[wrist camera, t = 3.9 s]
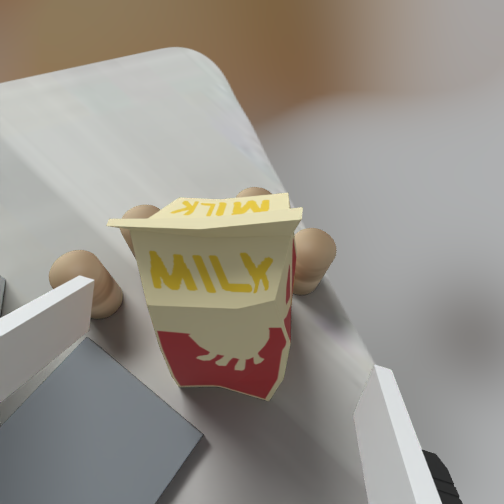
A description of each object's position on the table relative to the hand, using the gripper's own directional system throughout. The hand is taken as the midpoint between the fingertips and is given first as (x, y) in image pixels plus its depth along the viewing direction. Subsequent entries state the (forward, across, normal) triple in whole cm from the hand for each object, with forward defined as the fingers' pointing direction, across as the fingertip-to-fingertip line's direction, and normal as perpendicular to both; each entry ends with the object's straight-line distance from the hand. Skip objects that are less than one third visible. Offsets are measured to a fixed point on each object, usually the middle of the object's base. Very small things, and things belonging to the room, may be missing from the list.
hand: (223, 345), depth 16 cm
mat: (+5, -8, -15) cm, 18 cm away
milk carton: (+13, -1, -8) cm, 15 cm away
